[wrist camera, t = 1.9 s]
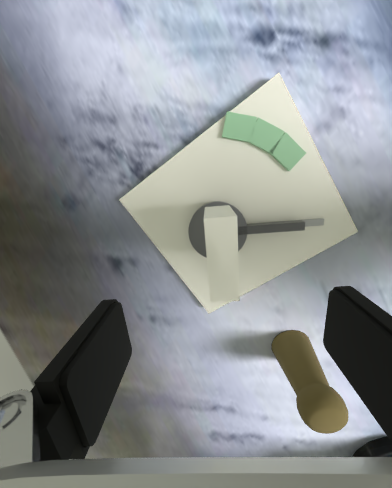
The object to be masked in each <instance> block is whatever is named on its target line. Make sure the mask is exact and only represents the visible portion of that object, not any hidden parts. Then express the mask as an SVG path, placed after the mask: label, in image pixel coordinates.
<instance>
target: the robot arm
mask: <svg viewBox="0 0 392 488" xmlns="http://www.w3.org/2000/svg"><path fill="white" fill-rule="evenodd" d="M323 343H324V346H325V348H326V350H327V352H328V353H329V354H330V356H331V357H332V359H333V360H334V361H335V363H336V364H337V366H338V367H339V369H340V370H341V371H342V373H343V374H344V376H345V377H346V378H347V380H348V381H349V383H350V384H351V385H352V387H353V388H354V390H355V391H356V392H357V394H358V395H359V397H360V398H361V400H362V401H363V402H364V404H365V405H366V407H367V408H368V409H369V411H370V412H371V414H372V415H373V416H374V418H375V419H376V421H377V422H378V424H379V425H380V426H381V428H382V429H383V431H384V432H385V433H386V435H387V436H388V437H389V439H390V440H391V441H392V316H391V315H389V314H388V313H387V312H385V311H384V310H383V309H381V308H380V307H379V306H377V305H376V304H375V303H373V302H372V301H370V300H369V299H368V298H366V297H365V296H364V295H362V294H361V293H360V292H358V291H357V290H356V289H354V288H353V287H351V286H341V287H334V288H333V290H331V291H330V292H329V298H328V306H327V314H326V322H325V330H324V338H323ZM131 354H132V347H131V343H130V339H129V335H128V330H127V326H126V322H125V318H124V313H123V309H122V305H121V303H120V302H118V301H117V300H116V299H113V300H103V301H101V303H100V304H99V305H98V306H97V307H96V309H95V310H94V311H93V312H92V313H91V314H90V316H89V317H88V318H87V319H86V320H85V322H84V323H83V324H82V325H81V326H80V328H79V329H78V330H77V331H76V332H75V334H74V335H73V336H72V337H71V338H70V340H69V341H68V342H67V343H66V344H65V346H64V347H63V348H62V349H61V350H60V352H59V353H58V354H57V355H56V356H55V358H54V359H53V360H52V361H51V362H50V364H49V365H48V366H47V367H46V368H45V370H44V371H43V372H42V373H41V374H40V376H39V377H38V378H37V379H36V380H35V382H34V383H35V386H34V388H33V389H32V390H31V391H28V390H17V391H13V392H11V393H9V394H6V395H4V396H2V397H0V488H392V457H190V458H103V459H85V456H86V454H87V452H88V449H89V447H90V446H93V445H94V443H95V442H96V440H97V437H98V435H99V433H100V430H101V428H102V425H103V423H104V420H105V418H106V416H107V413H108V411H109V408H110V406H111V403H112V401H113V399H114V396H115V394H116V391H117V389H118V386H119V384H120V382H121V379H122V377H123V374H124V372H125V370H126V367H127V365H128V362H129V360H130V357H131ZM69 459H73V460H69Z"/></svg>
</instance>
